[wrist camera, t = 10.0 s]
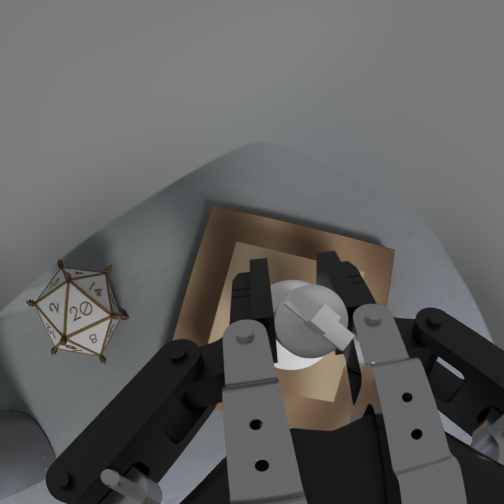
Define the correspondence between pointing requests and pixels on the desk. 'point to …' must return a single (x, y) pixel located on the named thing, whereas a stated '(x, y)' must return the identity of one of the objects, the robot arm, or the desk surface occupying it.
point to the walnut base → (289, 244)
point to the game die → (79, 311)
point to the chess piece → (307, 323)
